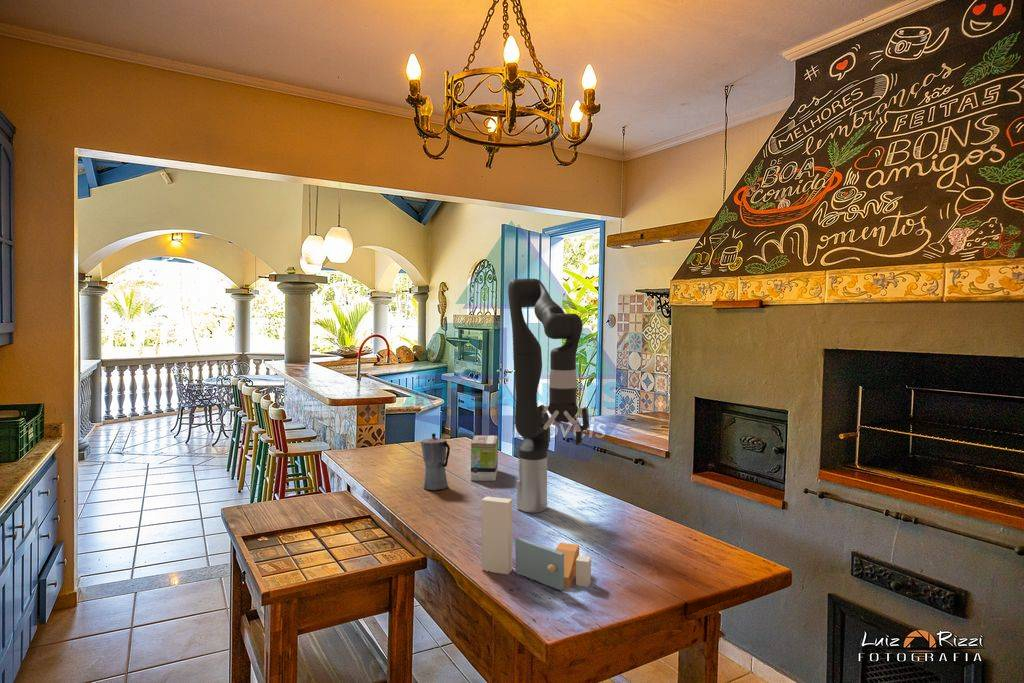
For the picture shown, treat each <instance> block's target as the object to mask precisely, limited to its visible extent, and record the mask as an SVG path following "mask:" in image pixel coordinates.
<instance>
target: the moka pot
mask: <svg viewBox="0 0 1024 683" xmlns="http://www.w3.org/2000/svg"><path fill="white" fill-rule="evenodd" d="M436 435H437V434H436V433H435V432H434V433H431V438H424V439H422V440H421V441H420V445H421V451H422V457H423V462H424V467H425V468H424V477H423V489H424V488H425V490H428V491H438V490H445V489H447V488H448V487H449V486H448V485H449V484H448V480H447V473H446V467H448V460H449V457H450V450H451V446H450V445H449V444H448V441H447V440H446V439H445V438H439V437H436Z"/></svg>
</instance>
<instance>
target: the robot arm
mask: <svg viewBox="0 0 1024 683" xmlns="http://www.w3.org/2000/svg"><path fill="white" fill-rule="evenodd" d="M507 293H508V295H507V297H508V304H509V313H510V320H511V321H510V323H511V329H512V330H511V331H512V354H513V356H512V360H513V369H514V370H513V371H514V387H515V388H514V389H515V406H514V425H515V429H516V431H517V433H518V434H519V436H520V437H522V438H523V440H522V443H521V445H520V446H519V448H518V479H517V481H516V509H517V510H518V511H519V510H520V511H521V512H525V513H542V512H545V511H546V510H547V509H548V450H549V447H550V443H551V426H552V424H554V422H556V423H565V424H568V423H570V424H571V425H572V426H573V427H574V429H575V430H576V432H575V445H576V446H580V444H581V443H582V442H583V431H587V430H588V429H590V419H589V418H590V417H589V415H590V414H589V407H587V406H585V407H578V404H577V398H578V397H577V396H578V394H577V390H578V388H577V387H578V379H577V378H578V377H577V368H576V367H577V365H576V364H577V353H578V352H577V351H578V347H579V342H580V339H581V336H582V332H583V321H582V318H581V317H580V315H578V314H577V313H572V312H571V313H569V312H568V313H565V311H564V309H563V308H562V307H561V306H560V305H559V304H557V303H556V302H555V301H554V300H553V299H552V297H551V296H550V293H549V292H548V290H547V289H546V286H545V285H544V284H543V282H542V281H541V280H540V279H538V278H514V279H513V278H512V279H511V280H510V281H509V283H508V286H507ZM533 307H534V309H533V310H534V315H535V317H536V318H537V319H538V321H539V322H540V323H541V324H542V326H543V330H544V334H545V336H546V337H547V338H548V339H552V340H566V341H565V342H564V344H563V345H561V346H558V347H555V348H552V349H551V351H550V361H549V362H550V363H549V364H550V365H549V366H550V371H549V378H548V380H549V381H548V382H549V395H548V396H549V397H548V398H549V399H548V400H549V405H544V404H540V405H538V388H539V385H540V380H541V375H542V372H543V371H542V370H543V359H542V358H543V357H542V347H541V343H540V342H539V340H538V339H537V337H536V336H535V335H534V333H533V332H532V330H531V329H530V328H529V326H528V324H527V322H526V321H525V317H524V314H523V310H522V309H523V308H533ZM547 411H548V412H547ZM548 413H549V414H550V417H549V414H548ZM578 413H579V415H580V416H581V417H582V425H581V422H580V421H579V420H578V418H577V417H576V415H577V414H578Z"/></svg>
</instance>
